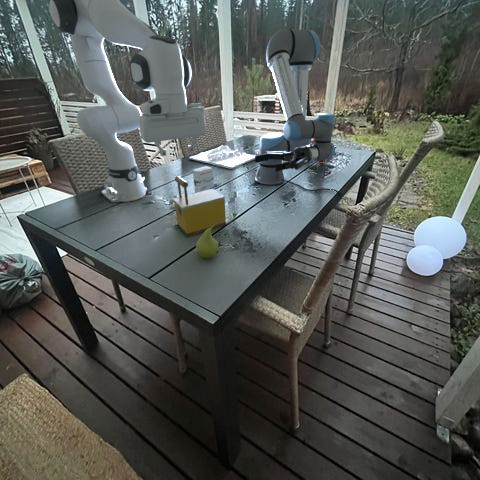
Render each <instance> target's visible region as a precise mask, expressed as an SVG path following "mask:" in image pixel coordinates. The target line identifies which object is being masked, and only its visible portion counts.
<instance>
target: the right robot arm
mask: <svg viewBox="0 0 480 480" xmlns="http://www.w3.org/2000/svg"><path fill="white" fill-rule="evenodd" d="M320 43H321V42H320V37H319V35H318V34H317V32H315V31H314V30H309V29H298V28H297V29H296V28H295V29H293V28H292V29H291V28H282V29H280V30H277V31H276V32H275V33H273V35H272V36H271V38H270V40H269V41H268V43H267V47H266V52H265V59H266V63H267V67H268V69H269V70H270V71H271V72H272V77H273V79H274V82H275V86H276V91H277V93H278V96H279V101H280V104H281V107H282V110H283V114H284V118H285V121H286V122H285V123H284V125H283V127H282V131H283V133H282V132H278V131H277V132H269V133H265V134H263V135H262V136H260V139H259V147H258V148H259V153H258V154H257V155H255V159H254V163H258V167H257V171H256V174H255V178H254V181H255V183H258V184H259V185H262V186H263V185H264V186H279V185H281V184H283V183H284V182H286V183H289V184H290V185H294V186H297V187H299V188H301V189H302V190H304V191H308V192H317V191H331V192H332V191H333V190H334V191H333V192H335V191H336V192H335V193H336V194H338V195H339V197H341V196H342V194H341V193H340V191H338V190H336V189H335V188H334V189H333V188H327V187H326V188H325V187H321V188H315V189H309V188H305V187H304V186H302V185H300V184H297V183H295V182H292V181H289V180H286V179H285V175H284V172H283V171H285V170H290V169H291V170H295V171H298V170H299V169H301V168H302V167H303V166H304V165H308V164H313V163H316V162H317V163H318V162H319V161H322V160H325V161H326V160H329V159H331V158H332V157H334V155H335V152H336V148H335V144H334V143H333V142H332V137H333V131H334V127H335V121H336V116H335V114H334V113H330V112H319V113H317V114H316V117H315V119H306V116H307V103H308V102H307V101H308V91H309V90H308V89H309V88H308V87H309V74H310V70H311V69H312V68H313V65H314V62H315V61H316V60H317V59H318V57H319V54H320V50H321V44H320ZM313 139H314V142H313V145H312V140H313ZM330 189H331V190H330Z"/></svg>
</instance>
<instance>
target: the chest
mask: <svg viewBox="0 0 480 480" xmlns="http://www.w3.org/2000/svg"><path fill="white" fill-rule="evenodd" d="M225 199H226V198H225ZM225 199H224V200H220V201H216V202H212V203H209V204H205V205H201V206H197V207H194V208H190V209H186V210H181V209H180V208H179V207H178V206H177V205H176V204H175V203H174V209H175V215H176V222H177V227H178V228H179V229H180V230H181V231H182V232H183V233H184V235H186V237H187V238H188V237H192V236H195V235H198V234H201V233H204V232H205V231H206V230H207V229H208V228H211V227H212V226H213V225H214V224H216V222H217V221H218V224H217V225H215V226H214V227H213V228H212V229H211V230H214V229H217V228H219V227H224V226H226V225H227V221H226V218H227V217H226V200H225Z"/></svg>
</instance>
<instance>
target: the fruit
mask: <svg viewBox="0 0 480 480" xmlns="http://www.w3.org/2000/svg"><path fill="white" fill-rule="evenodd" d="M217 224H218V221H217V222H216V224H214V225H213V226H212V227H211V228H208V229H207V230H206V231H205V232H202V235H201V236H200V237H199V239H198V240H197V241H196V245H195V249H196V252H197V254H198V255H199V256H200V257H201V258H203V259H212V258H214V257H215V256H216V254H217V253H218V250H219V243H218V240H217V239H215V238H214V237H213V234H212V230H213V229H212V228H213V227H214V226H215V225H217Z"/></svg>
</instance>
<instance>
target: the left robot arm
mask: <svg viewBox="0 0 480 480" xmlns="http://www.w3.org/2000/svg"><path fill="white" fill-rule="evenodd" d="M48 7H49V14H50V16H51V17H50V18H51V19H52V21H53V23H54V25H55V27H56V28H57V29H58V30H59V31H60V32H61V33H63V34H66V35H70V41H71V45H72V51H73V55H74V58H75V61H76V65H77V68H78V71H79V73H80V76H81V79H82V82H83V85H84V87H85V89H86V90H87V91H89V93H91V94H92V95H95V96H98V97H99V98H100V99H101V100H102V101H103V102H104V103H105V104H99V105H91V106H87V107H84V108H81V109H79V110H78V111H77V114H76V123H77V126H78V128H79V129H80V131H81V132H82V134H85V135H86V136H87V137H89V138H91V139H93V140H95V141H96V142H97V143H98V144H99V146H101V148H102V150H103V151H104V154H105V157H106V160H107V163H108V167H107V170H108V177H107V178H106V179H105V180H104V184H103V188H104V189H103V190H101V195H103V197H105V198H106V199H108V201H110V202H111V203H119V202H120V203H121V202H133V201H137V200H140V199H142V198H144V197H145V196H146V194H147V191H148V187H146V186H145V183H144V180H145V179H146V178H145V177H142V174H140V173H139V167H138V164H137V163H136V159H135V155H134V150H133V148H132V146H131V145H130V144H128V143H126V142H123V141H120V140H119V139H118V137H117V134H122V133H123V134H124V133H129V132H132V131H136V130H137V129H139V133H140V138H141V140H142V141H143V142H145V143H146V144H147V143H148V144H149V143H154V145H155V147H156V148H157V149H158V150H159V156H160V157H165V156H167V149H165V148H162V147H161V145H162V142H164V141H171V140H172V141H173V140H179V139H187V138H189V139H190V143H189V144H188V145H187V151H188V152H195V145H196V143H197V141H198V138H197V137H201V136H205V135H206V134H207V132H208V131H207V129H208V128H207V124H206V118H205V116H206V113H205V112H206V111H205V107H204V106H203V104H201V103H199V102H196V103H188V101H187V94H186V93H187V92H186V88H187V87H188V86H189V85H190V82H191V80H192V75H193V74H192V73H193V72H192V66H191V64H190V61H189V60H188V59H187V57H186V56H185V55H184V54H183V52H181V48H180V45H179V42H178V41H177V40H176V38H173V37H170V36H164V35H159V33H157V32H156V31H155V30H154V28H152V27H151V26H150V25H149V24H147V23H146V22H145V21H143V20H142V19H140V18H139V17H138V16H137V15H135V14H134V13H133V12H131V11H130V10H129V9H128V8H127V6H125V5H124V4H123V3H122V2H121V0H48ZM105 40H106V41H107V42H109V43H112V44H114V45H119V46H124V47H125V46H126V47H131V48H136V49H140V51H139V52H137V53H134V54H133V56H132V57H131V59H130V61H129V73H130V76H131V77H130V78H131V80H132V82H133V84H135V85H136V87H138V88H139V89H140V90H142V91H147V92H149V91H150V92H152V91H153V95H154V98H153V99H150V100H148V101H146V102H144V103H141V104H140V105H139V107H138V106H137V105H136V104H134V103H132V102H131V101H129V99H127V98H126V96H124V94H123V93H122V92H121V91H120V89H119V87H118V85H117V83H116V80H115V77H114V74H113V71H112V69H111V65H110V62H109V59H108V57H107V54H106V52H105V51H106V50H105V48H104V41H105Z"/></svg>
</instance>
